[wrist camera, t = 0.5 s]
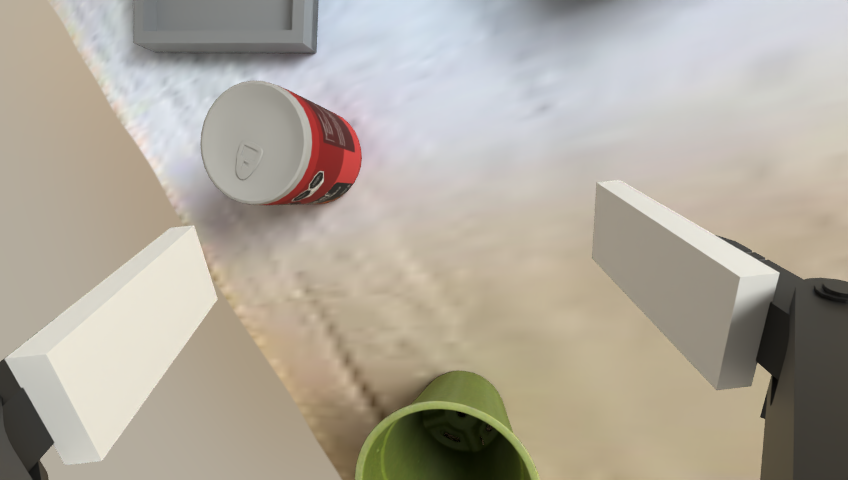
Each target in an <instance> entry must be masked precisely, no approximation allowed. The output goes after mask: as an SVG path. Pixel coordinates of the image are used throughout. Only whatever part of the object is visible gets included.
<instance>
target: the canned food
mask: <svg viewBox="0 0 848 480" xmlns="http://www.w3.org/2000/svg"><path fill="white" fill-rule="evenodd" d="M201 154H202V159H203V163H204V167H205V169H206V171H207V173H208V176H209V178H210V179H211V180H212V182H213V183H214V185H215V186H216V187H217V188H218V189H219V190H220V191H221V192H222V193H223V194H225V195H226V196H228V197H229V198H231V199H233V200H235V201H238V202H241V203H246V204H253V205H294V204H321V203H328V202H331V201H334V200H336V199H337V198H339V197H341V196H342V195H343V194H344V193H346V192H347V191H348V190H349V189H350V187H351V186H352V185H353V183H354V182H355V180H356V178H357V176H358V174H359V170H360V167H361V159H362V157H361V147H360V144H359V140H358V138H357V135H356V133H355V131H354V130H353V128H352V127H351V126H350V124H349V123H348V122H347V121H345V120H344V119H343V118H342V117H340V116H338V115H337V114H335V113H333V112H331V111H329V110H327V109H325V108H323V107H321V106H319V105H317V104H315V103H313V102H311V101H309V100H307V99H305V98H303V97H301V96H299V95H297V94H295V93H293V92H291V91H289V90H287V89H284V88H282V87H280V86H278V85H275V84H271V83H267V82H264V81H248V82H242V83H239V84H237V85H235V86H232V87H231V88H229V89H228V90H226V91H225V92H223V93H222V94H221V95H220V96H219V97H218V98H217V99H216V100H215V102H214V103H213V105H212V106H211V108H210V109H209V111H208V113H207V116H206V118H205V120H204V124H203V128H202V132H201Z"/></svg>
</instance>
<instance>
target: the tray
mask: <svg viewBox="0 0 848 480" xmlns="http://www.w3.org/2000/svg"><path fill="white" fill-rule="evenodd" d="M317 22H318V0H134V43H135V44H137V45H139V46H142V47H144V48H147V49H149V50H151V51H154V52H207V53H316V48H317Z"/></svg>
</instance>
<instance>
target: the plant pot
mask: <svg viewBox="0 0 848 480" xmlns="http://www.w3.org/2000/svg"><path fill="white" fill-rule="evenodd" d="M458 411H459V412H463V413H466V416H464V417H460V416H459V415H458ZM488 424H489V425H491V426H492V427H493V428H492V430H491V431H490V432H488V431H487V430H486V427H487V425H488ZM445 432H447V433H449V434H451V435H453V436H455V437H458V438H459V439H460V442H457V441H454V440H451V439H449V438H447V437H445V436H444V433H445ZM480 435H481V437H482V439H483V441H484V445H483V444H482V442H481V439H480ZM355 480H540V478H539V475H538V472H537V470H536V467H535V465H534V462H533V460H532V459H531V457H530V455H529V453H528V452H527V450H526V448H525V447H524V445H523V444H522V443H521V441H520V440H519V439H518V438H517V437H516V436H515V435H514V434H513V431H512V428H511V425H510V422H509V419H508V416H507V413H506V410H505V407H504V404H503V401H502V399H501V397H500V395H499V393H498V392H497V390H496V389H495V387H494V386H493V385H492V384H491V383H490V382H488V381H487V380H486V379H484V378H483V377H481V376H479V375H477V374H475V373H471V372H466V371H453V372H449V373H446V374H444V375H441V376H439V377H437V378H436V379H435V380H433V381H432V382H431V383H430V384H429V385H428V387H427V388H426V389H425V390H424V391H423V392H422V393H421V394H420V395H419V396H418V397H417V398H416V399H415V401H414V402H413V403H412V404H411V405H408V406H405V407H403V408H401V409H399V410H397V411H395V412H393V413H392V414H390V415H388V416H387V417H386V418H384V419H383V420H382V421H381V422H380V423H379V424H378V425H377V426H376V427H375V428H374V429H373V430H372V431H371V433H370V434H369V435H368V437H367V438H366V440H365V442H364V444H363V446H362V448H361V450H360V453H359V456H358V459H357V463H356V470H355Z"/></svg>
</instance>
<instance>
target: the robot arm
mask: <svg viewBox="0 0 848 480" xmlns="http://www.w3.org/2000/svg"><path fill="white" fill-rule="evenodd" d="M592 259H593V260H594V261H595V262H596V263H597V264H598V265H599V266H600V267H601V268H602V269H603V271H604V272H605V273H606V274H607V275H608V276H609V277H610V278H611V279H612V280H613V281H614V282H615V283H616V284H617V285H618V286H619V288H620V289H621V290H622V291H623V292H624V293H625V294H626V295H627V296H628V297H629V298H630V299H631V300H632V301H633V302H634V303H635V304H636V306H637V307H638V308H639V309H640V310H641V311H642V312H643V313H644V314H645V315H646V316H647V317H648V318H649V319H650V320H651V321H652V323H653V324H654V325H655V326H656V327H657V328H658V329H659V330H660V331H661V332H662V333H663V334H664V335H665V336H666V337H667V338H668V339H669V341H670V342H671V343H672V344H673V345H674V346H675V347H676V348H677V349H678V350H679V351H680V352H681V353H682V354H683V355H684V356H685V357H686V359H687V360H688V361H689V362H690V363H691V364H692V365H693V366H694V367H695V368H696V369H697V370H698V371H699V372H700V373H701V374H702V376H703V377H704V378H705V379H706V380H707V381H708V382H709V383H710V384H711V385H712V386H713V387H714V388H715V389H716V390H722V389H731V388H740V387H748V386H751V385H752V381H753V377H754V373H755V369H756V365H757V362H758V363H759V364H760V365H761V366H762V367H764V368H765V369H766V370H767V371H768V372H769V373H770V374H772V376H771V379H770V383H769V387H768V390H767V394H766V398H765V402H764V405H763V409H762V413H761V416H760V417H761V418H764V419H765V429H764V441H763V454H762V466H761V478H760V480H848V282H846V281H842V280H837V279H827V278H809V279H805V280H803V279H802V278H800V277H798V276H796V275H794V274H793V273H791V272H789V271H787V270H786V269H784V268H782V267H780V266H778V265H777V264H775V263H773V262H771V261H770V260H765V258H764V257H762V256H761V255H759V254H757V253H755V252H753V253H752V250H750V249H748V248H746V247H745V246H743V245H741V244H739V243H738V242H736V241H732V240H729V239H726V238H723V237H720V236H717V235H714V234H712V233H710V232H708V231H707V230H705V229H703V228H702V227H700V226H698V225H696V224H695V223H693V222H691V221H689V220H688V219H686V218H684V217H683V216H681V215H679V214H677V213H676V212H674V211H672V210H671V209H669V208H667V207H665V206H664V205H662V204H660V203H658V202H657V201H655V200H653V199H652V198H650V197H648V196H646V195H645V194H643V193H641V192H639V191H638V190H636V189H634V188H633V187H631V186H629V185H627V184H626V183H624V182H622V181H621V180H615V181H606V182H597V184H596V200H595V216H594V232H593V247H592ZM216 301H217V296H216V293H215V289H214V286H213V283H212V280H211V277H210V274H209V270H208V267H207V264H206V261H205V258H204V255H203V252H202V248H201V245H200V242H199V239H198V236H197V233H196V230H195V226H194V225H192V226H183V227H173V228H170V229H168V230H167V231H166V232H164V233H163V234H162V235H161V236H159V237H158V238H157V239H156V240H154V241H153V242H152V243H151V244H149V245H148V246H147V247H145V248H144V249H143V250H142V251H140V252H139V253H138V254H137V255H135V256H134V257H133V258H131V259H130V260H129V261H128V262H127V263H125V264H124V265H123V266H121V267H120V268H119V269H118V270H116V271H115V272H114V273H112V274H111V275H110V276H109V277H107V278H106V279H105V280H104V281H102V282H101V283H100V284H98V285H97V286H96V287H95V288H94V289H92V290H91V291H90V292H88V293H87V294H86V295H85V296H83V297H82V298H81V299H80V300H78V301H77V302H76V303H75V304H73V305H72V306H71V307H69V308H68V309H67V310H66V311H65V312H63V313H62V314H60V315H59V316H58V317H56V318H55V319H54V320H53V321H51V322H50V323H49V324H47V325H46V326H45V327H44V328H42V329H41V330H40V331H39V332H38V333H36V334H35V335H33V336H32V337H31V338H30V339H28V340H27V341H26V342H25V343H24V344H22V345H21V346H20V347H18V348H17V349H16V350H15V351H13V352H12V353H11V354H9V355H8V356H7V357H6V358H4V359H3V360H2V361H1V362H0V480H48V474H47V472H46V470H45V468H44V467H43V465H42V463H41V462H40V458H41V457H42V456H43V455H44V454H45V453H46V452H47V450H48V449H49V448H50V447H51V446H52V445H54V446H55V448H56V450H57V452H58V454H59V455H60V457H61V459H62V460H63V462H64V464H65V465H72V464H80V463H88V462H96V461H97V462H98V461H102V460H103V459H104V457H105V456H106V455H107V453H108V452H109V450H110V449H111V448H112V446H113V445H114V443H115V442H116V441H117V439H118V438H119V436H120V435H121V434H122V432H123V431H124V429H125V428H126V427H127V425H128V424H129V422H130V421H131V420H132V418H133V417H134V415H135V414H136V413H137V411H138V410H139V408H140V407H141V406H142V404H143V403H144V401H145V400H146V399H147V397H148V396H149V394H150V393H151V392H152V390H153V389H154V387H155V386H156V384H157V383H158V382H159V380H160V379H161V377H162V376H163V375H164V373H165V372H166V371H167V369H168V368H169V366H170V365H171V364H172V362H173V361H174V359H175V358H176V357H177V355H178V354H179V352H180V351H181V350H182V348H183V347H184V345H185V344H186V342H187V341H188V339H189V338H190V337H191V336H192V334H193V333H194V331H195V330H196V329H197V327H198V326H199V324H200V323H201V321H202V320H203V319H204V317H205V316H206V315H207V313H208V312H209V310H210V309H211V307H212V306H213V305H214V303H215V302H216Z"/></svg>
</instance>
